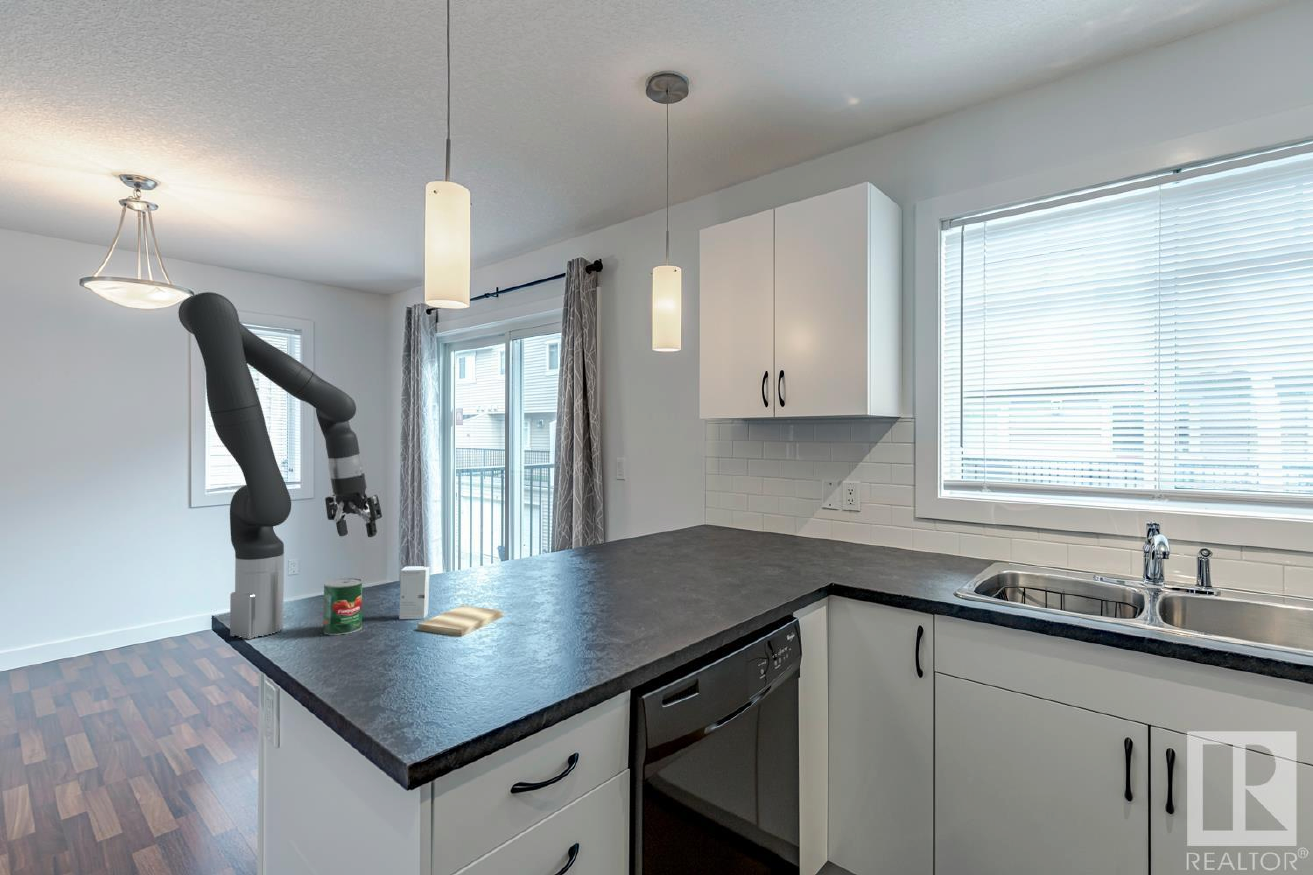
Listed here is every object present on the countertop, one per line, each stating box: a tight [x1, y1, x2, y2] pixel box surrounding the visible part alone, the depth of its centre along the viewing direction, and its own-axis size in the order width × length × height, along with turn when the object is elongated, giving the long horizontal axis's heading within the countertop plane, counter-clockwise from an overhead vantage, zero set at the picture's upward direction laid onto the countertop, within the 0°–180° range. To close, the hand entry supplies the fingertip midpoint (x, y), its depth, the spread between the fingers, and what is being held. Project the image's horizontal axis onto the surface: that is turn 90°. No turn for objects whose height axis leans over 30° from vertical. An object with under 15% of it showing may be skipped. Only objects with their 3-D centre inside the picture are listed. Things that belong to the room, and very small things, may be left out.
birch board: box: [417, 605, 504, 637], centre depth 146 cm, size 16×12×2 cm
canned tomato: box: [323, 577, 363, 636], centre depth 140 cm, size 8×8×11 cm
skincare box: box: [398, 565, 431, 620], centre depth 151 cm, size 6×4×12 cm
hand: (357, 535), depth 154 cm, fingers open, 8 cm apart
